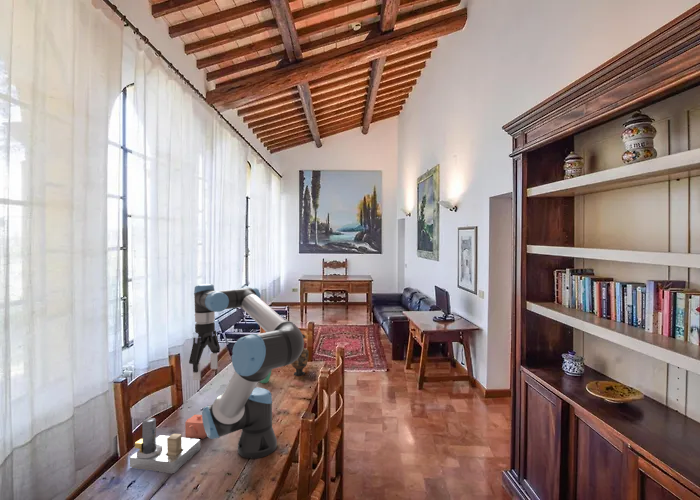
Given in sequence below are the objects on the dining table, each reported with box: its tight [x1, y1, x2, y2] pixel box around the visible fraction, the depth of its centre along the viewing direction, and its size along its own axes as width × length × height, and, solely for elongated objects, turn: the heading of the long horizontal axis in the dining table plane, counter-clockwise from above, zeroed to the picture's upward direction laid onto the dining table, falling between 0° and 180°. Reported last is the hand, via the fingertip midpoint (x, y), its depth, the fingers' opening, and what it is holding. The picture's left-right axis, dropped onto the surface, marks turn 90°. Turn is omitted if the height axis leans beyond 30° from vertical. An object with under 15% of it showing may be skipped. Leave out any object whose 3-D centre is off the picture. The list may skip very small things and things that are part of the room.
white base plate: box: [129, 434, 201, 474], centre depth 142 cm, size 18×16×4 cm
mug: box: [259, 369, 273, 384], centre depth 220 cm, size 15×10×10 cm
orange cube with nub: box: [184, 414, 208, 440], centre depth 159 cm, size 12×15×8 cm
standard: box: [134, 417, 162, 459], centre depth 139 cm, size 9×8×12 cm
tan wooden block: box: [167, 433, 182, 457], centre depth 139 cm, size 4×4×10 cm
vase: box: [290, 333, 310, 377], centre depth 233 cm, size 12×12×30 cm
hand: (205, 374), depth 153 cm, fingers open, 13 cm apart
